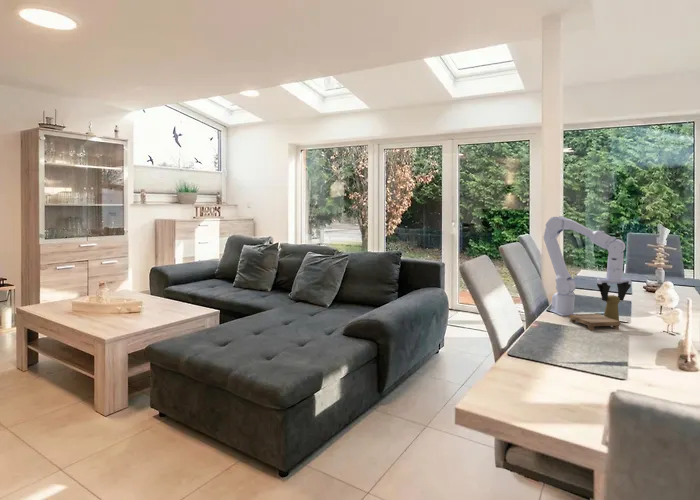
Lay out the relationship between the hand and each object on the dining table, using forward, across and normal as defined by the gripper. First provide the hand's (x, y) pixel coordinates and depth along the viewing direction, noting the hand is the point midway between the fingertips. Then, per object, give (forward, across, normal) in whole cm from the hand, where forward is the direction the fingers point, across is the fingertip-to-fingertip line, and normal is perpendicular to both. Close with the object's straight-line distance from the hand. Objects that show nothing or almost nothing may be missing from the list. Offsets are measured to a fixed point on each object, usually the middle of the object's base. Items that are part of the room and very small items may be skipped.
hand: (612, 300), depth 189 cm
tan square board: (+9, -12, -5) cm, 16 cm away
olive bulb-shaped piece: (+9, 0, 0) cm, 9 cm away
